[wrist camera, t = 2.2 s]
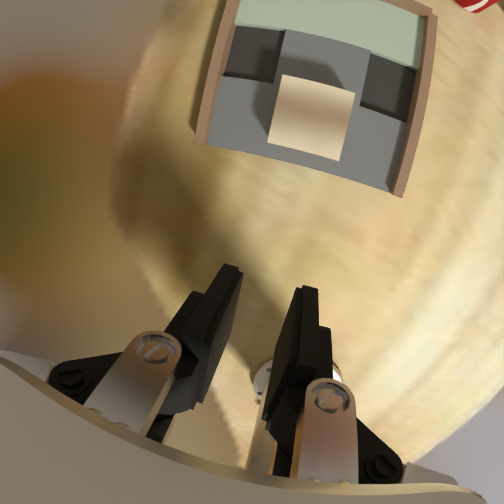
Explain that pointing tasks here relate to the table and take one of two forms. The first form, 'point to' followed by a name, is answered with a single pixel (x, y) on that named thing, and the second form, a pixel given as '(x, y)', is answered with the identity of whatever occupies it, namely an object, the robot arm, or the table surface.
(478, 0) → the soda can
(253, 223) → the table surface
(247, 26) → the box
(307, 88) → the birch block
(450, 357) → the table surface
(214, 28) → the table surface
